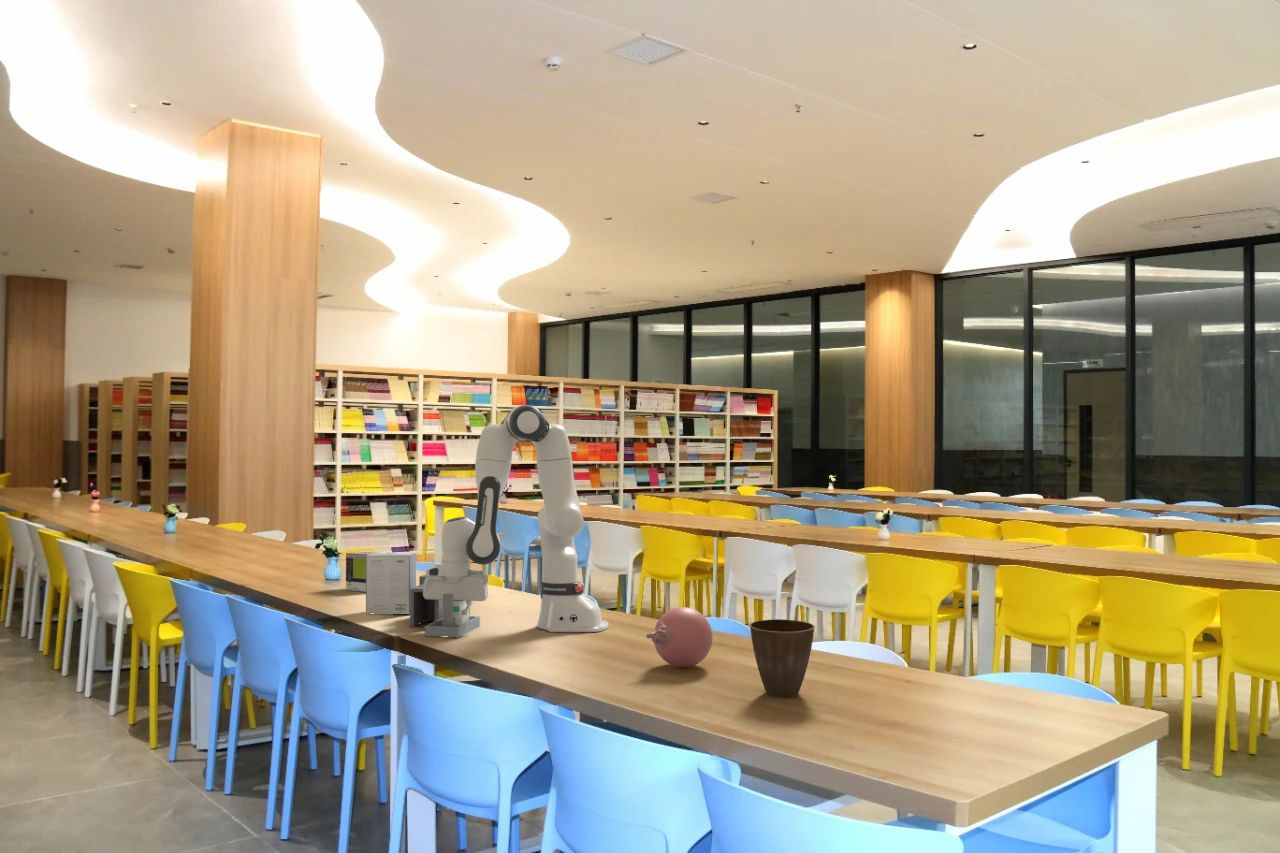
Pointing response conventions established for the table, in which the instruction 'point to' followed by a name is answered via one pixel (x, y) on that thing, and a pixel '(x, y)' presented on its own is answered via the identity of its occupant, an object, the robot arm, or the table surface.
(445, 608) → the white box teal stripe
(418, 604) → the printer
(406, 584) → the hard drive box
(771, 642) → the plant pot
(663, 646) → the pink balloon
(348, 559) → the tea box
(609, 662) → the table surface
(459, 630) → the tray
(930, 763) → the table surface
